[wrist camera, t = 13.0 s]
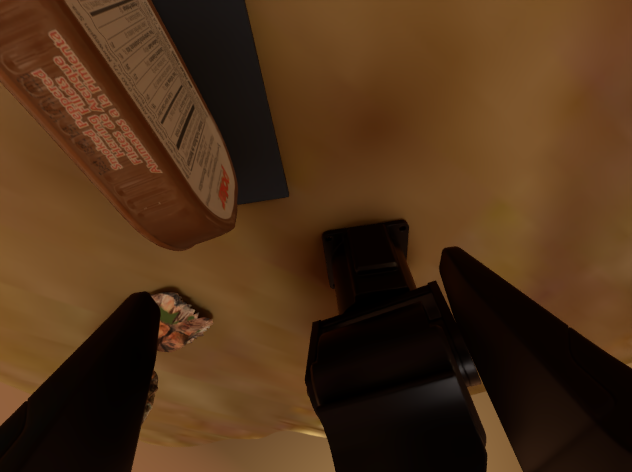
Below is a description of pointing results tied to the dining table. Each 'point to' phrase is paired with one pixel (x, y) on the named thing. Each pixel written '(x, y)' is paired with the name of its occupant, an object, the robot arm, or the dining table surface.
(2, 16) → the tin
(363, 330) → the robot arm
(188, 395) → the dining table surface
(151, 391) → the plant with pod
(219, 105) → the placemat
